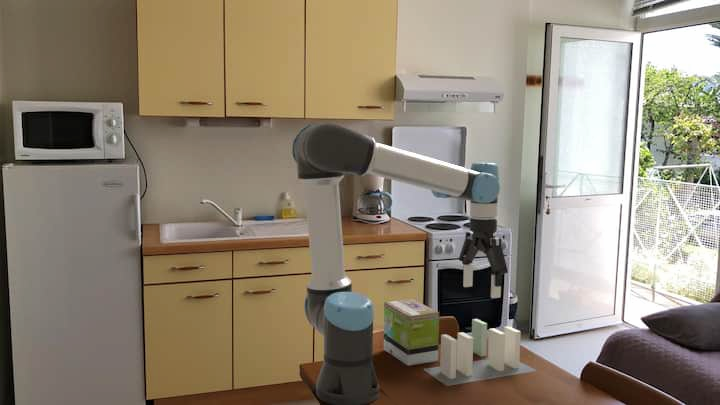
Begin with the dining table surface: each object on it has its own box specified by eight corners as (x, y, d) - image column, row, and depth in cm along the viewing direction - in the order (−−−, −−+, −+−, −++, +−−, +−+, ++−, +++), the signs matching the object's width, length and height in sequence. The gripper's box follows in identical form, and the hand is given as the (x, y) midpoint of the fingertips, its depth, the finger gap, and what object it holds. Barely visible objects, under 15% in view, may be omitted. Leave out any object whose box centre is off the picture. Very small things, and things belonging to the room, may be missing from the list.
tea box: (382, 350, 174) (383, 301, 173) (412, 346, 178) (413, 297, 177) (407, 368, 160) (408, 314, 159) (439, 363, 165) (440, 310, 163)
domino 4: (514, 368, 160) (515, 332, 159) (502, 362, 164) (504, 326, 163) (519, 367, 161) (520, 331, 160) (507, 361, 165) (509, 326, 164)
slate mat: (446, 388, 148) (446, 385, 148) (422, 371, 159) (422, 368, 158) (537, 373, 159) (537, 370, 159) (509, 357, 170) (509, 355, 170)
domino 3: (498, 371, 158) (500, 334, 157) (487, 364, 162) (489, 328, 162) (503, 370, 159) (505, 333, 158) (492, 363, 163) (494, 328, 162)
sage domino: (480, 358, 169) (482, 324, 168) (471, 352, 173) (472, 319, 172) (485, 357, 169) (487, 323, 168) (475, 352, 174) (476, 318, 173)
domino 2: (466, 376, 154) (468, 338, 153) (456, 369, 159) (457, 332, 158) (472, 375, 155) (473, 337, 154) (461, 368, 159) (462, 332, 158)
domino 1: (450, 378, 152) (451, 340, 151) (440, 372, 157) (441, 334, 156) (455, 378, 153) (456, 340, 152) (445, 371, 157) (446, 334, 156)
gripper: (522, 222, 158) (520, 301, 160) (469, 212, 181) (467, 281, 183) (499, 223, 155) (496, 304, 157) (448, 213, 178) (446, 283, 180)
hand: (481, 291), depth 170 cm, fingers open, 13 cm apart
